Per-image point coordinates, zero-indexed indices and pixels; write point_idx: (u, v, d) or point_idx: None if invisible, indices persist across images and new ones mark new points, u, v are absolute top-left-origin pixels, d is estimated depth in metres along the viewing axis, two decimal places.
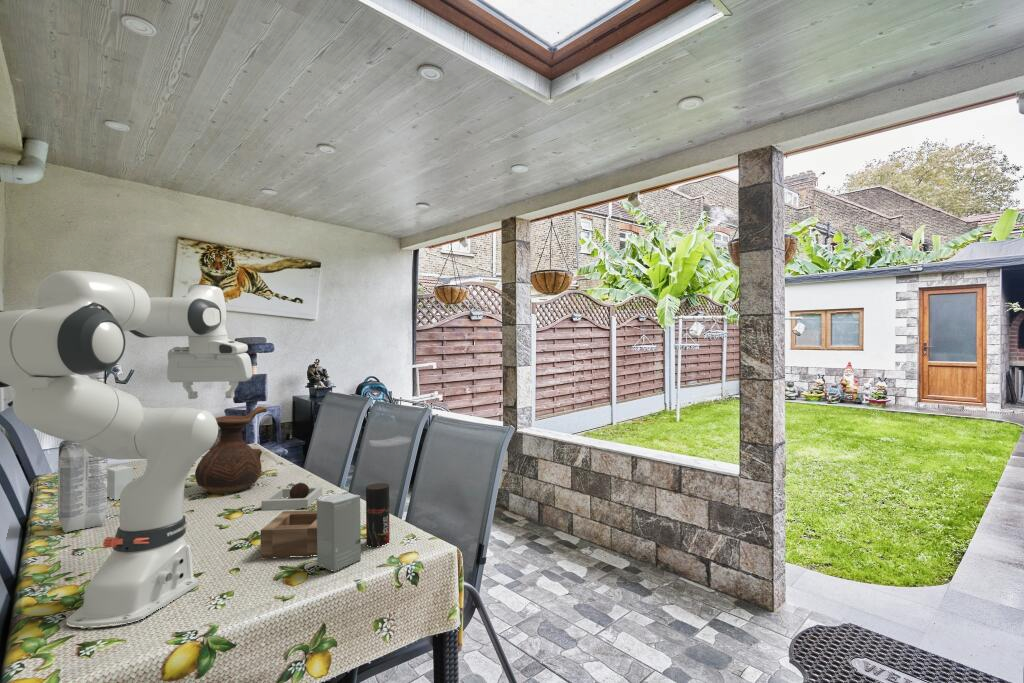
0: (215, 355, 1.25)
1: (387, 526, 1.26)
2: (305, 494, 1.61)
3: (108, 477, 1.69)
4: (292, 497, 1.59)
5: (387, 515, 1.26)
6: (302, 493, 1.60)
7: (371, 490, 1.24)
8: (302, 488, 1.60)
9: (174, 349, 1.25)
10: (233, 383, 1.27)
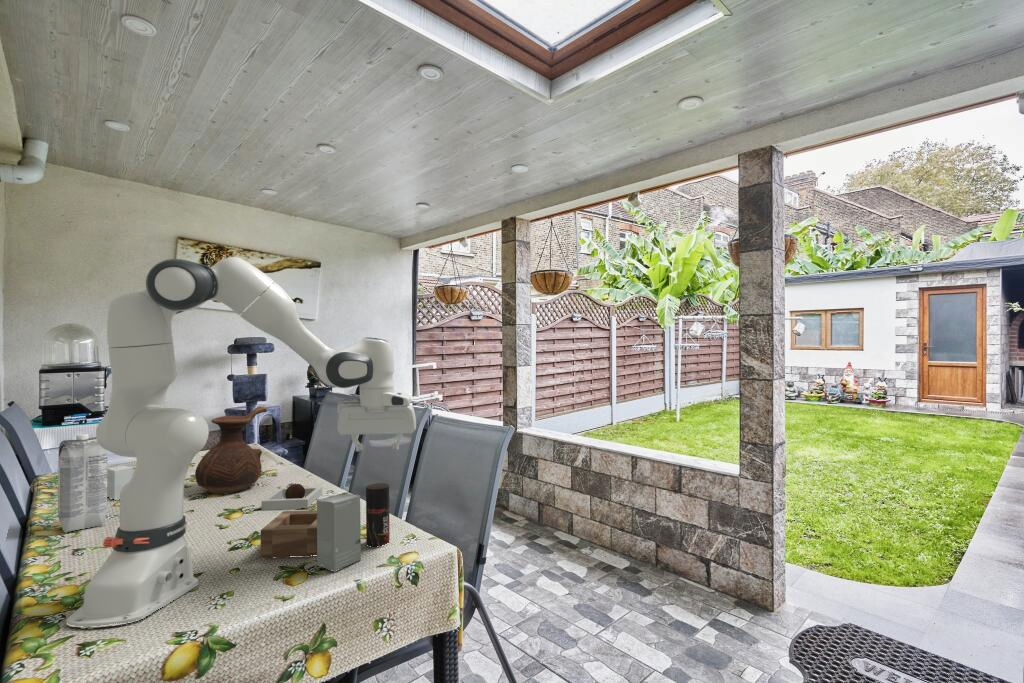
0: (385, 407, 1.26)
1: (387, 526, 1.26)
2: (301, 495, 1.60)
3: (108, 477, 1.69)
4: (287, 498, 1.58)
5: (387, 515, 1.26)
6: (297, 494, 1.59)
7: (371, 490, 1.24)
8: (298, 490, 1.59)
9: (344, 401, 1.26)
10: (400, 435, 1.27)
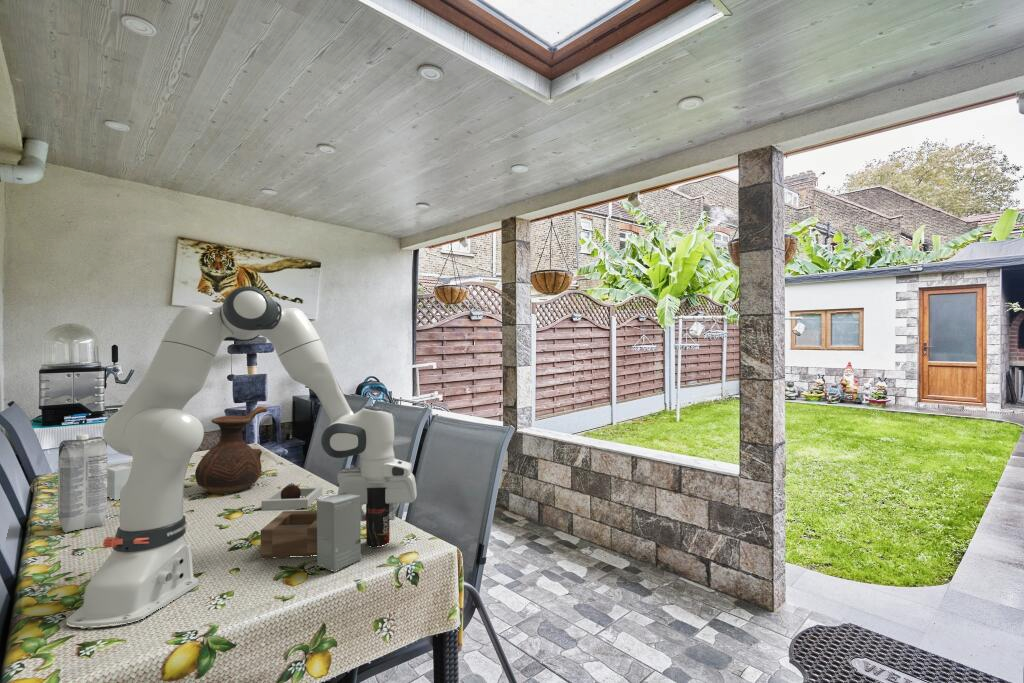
0: (386, 477, 1.25)
1: (387, 526, 1.26)
2: (297, 497, 1.59)
3: (108, 477, 1.69)
4: None
5: (387, 515, 1.26)
6: (293, 495, 1.58)
7: (371, 490, 1.24)
8: (293, 491, 1.58)
9: (344, 471, 1.26)
10: (397, 505, 1.26)
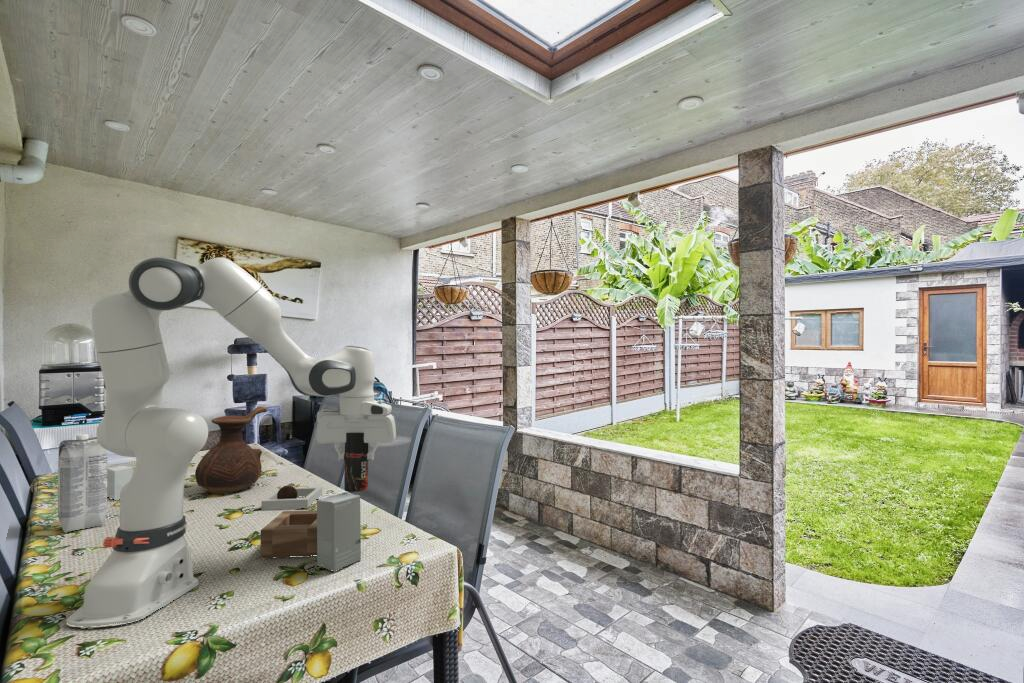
0: (365, 416, 1.25)
1: (365, 471, 1.26)
2: (293, 498, 1.57)
3: (108, 477, 1.69)
4: None
5: (365, 460, 1.26)
6: (289, 496, 1.57)
7: (350, 434, 1.24)
8: (289, 492, 1.57)
9: (324, 410, 1.26)
10: (375, 444, 1.26)
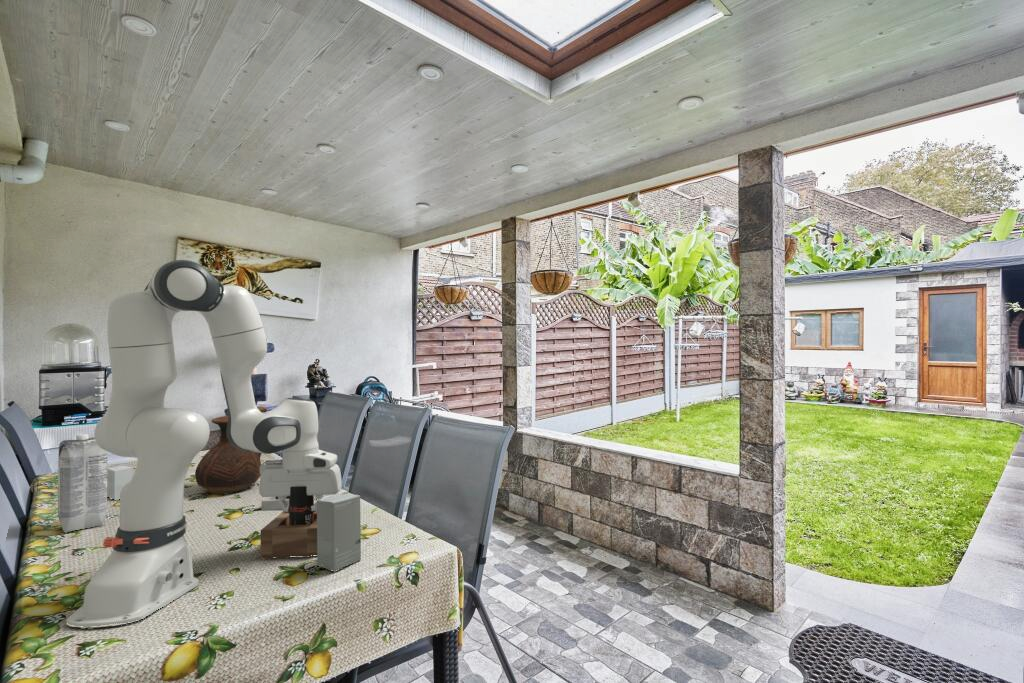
0: (308, 469, 1.24)
1: None
2: None
3: (108, 477, 1.69)
4: None
5: (310, 513, 1.25)
6: None
7: (293, 488, 1.23)
8: None
9: (267, 463, 1.25)
10: (319, 496, 1.25)
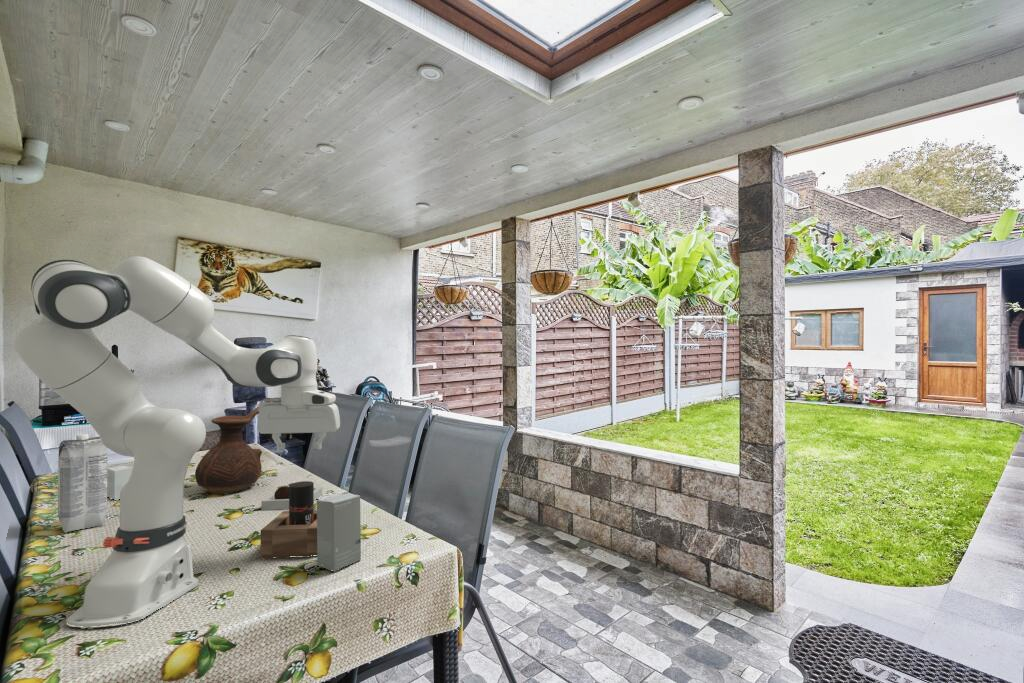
0: (306, 406, 1.24)
1: None
2: None
3: (108, 477, 1.69)
4: None
5: (310, 513, 1.25)
6: (285, 497, 1.56)
7: (293, 488, 1.23)
8: (285, 492, 1.56)
9: (265, 400, 1.25)
10: (322, 434, 1.25)
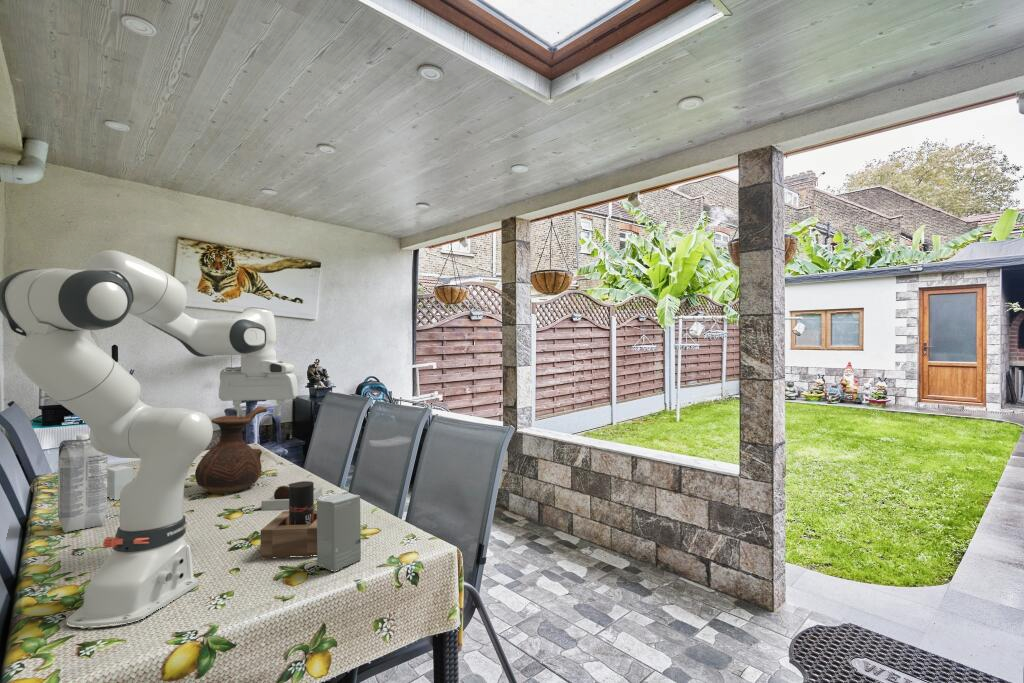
0: (265, 374, 1.31)
1: None
2: None
3: (108, 477, 1.69)
4: None
5: (310, 513, 1.25)
6: (284, 497, 1.56)
7: (293, 488, 1.23)
8: (285, 492, 1.56)
9: (226, 369, 1.32)
10: (280, 401, 1.32)
